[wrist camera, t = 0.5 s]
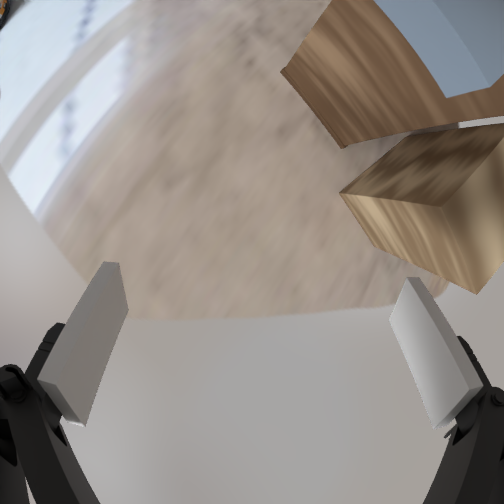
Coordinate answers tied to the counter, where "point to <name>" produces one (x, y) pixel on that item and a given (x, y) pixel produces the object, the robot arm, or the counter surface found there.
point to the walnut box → (375, 78)
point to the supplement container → (3, 10)
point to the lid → (453, 39)
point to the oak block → (438, 203)
